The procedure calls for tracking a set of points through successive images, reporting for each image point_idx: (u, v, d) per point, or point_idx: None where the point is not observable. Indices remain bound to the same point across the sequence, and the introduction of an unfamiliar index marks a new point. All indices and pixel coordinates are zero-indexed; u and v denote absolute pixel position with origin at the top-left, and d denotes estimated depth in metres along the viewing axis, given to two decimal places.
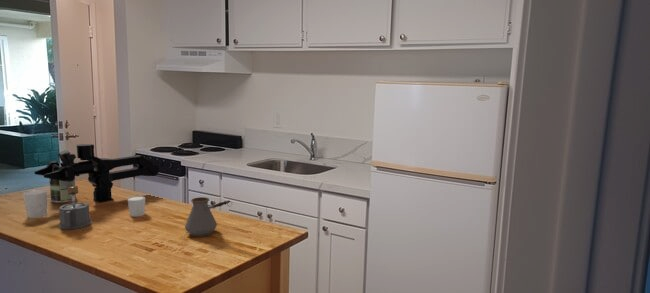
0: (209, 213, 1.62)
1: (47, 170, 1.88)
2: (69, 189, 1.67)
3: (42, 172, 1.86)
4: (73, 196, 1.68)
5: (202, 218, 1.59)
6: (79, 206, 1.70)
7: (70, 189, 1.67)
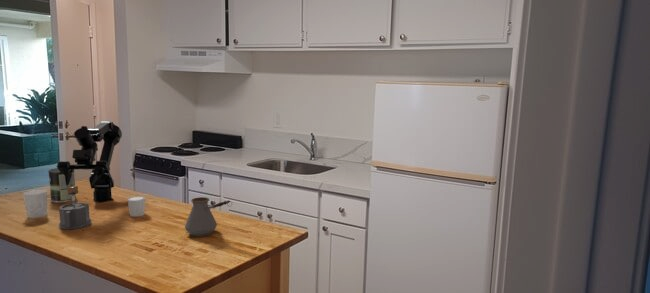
0: (209, 213, 1.62)
1: (68, 174, 1.78)
2: (69, 189, 1.67)
3: (68, 179, 1.77)
4: (73, 196, 1.68)
5: (202, 218, 1.59)
6: (79, 206, 1.70)
7: (70, 189, 1.67)
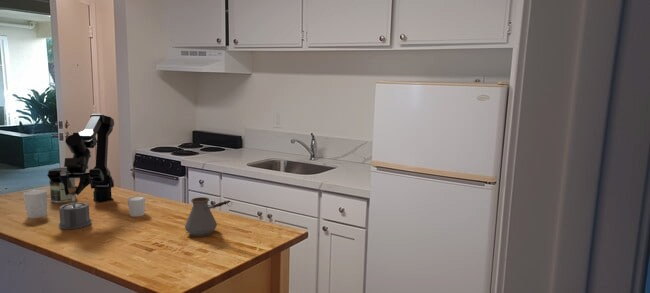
0: (209, 213, 1.62)
1: (67, 183, 1.69)
2: (69, 189, 1.67)
3: None
4: (73, 196, 1.68)
5: (202, 218, 1.59)
6: (79, 206, 1.70)
7: (70, 189, 1.67)
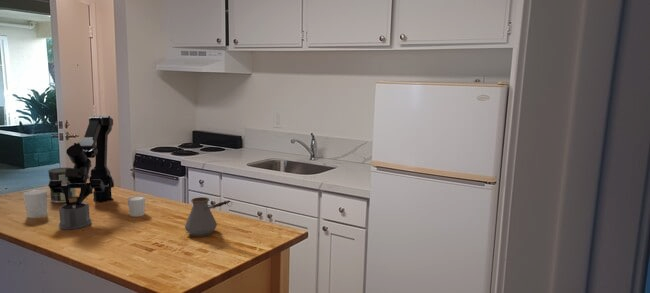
0: (209, 213, 1.62)
1: (68, 193, 1.70)
2: (70, 199, 1.67)
3: None
4: (74, 206, 1.69)
5: (202, 218, 1.59)
6: None
7: (71, 199, 1.67)
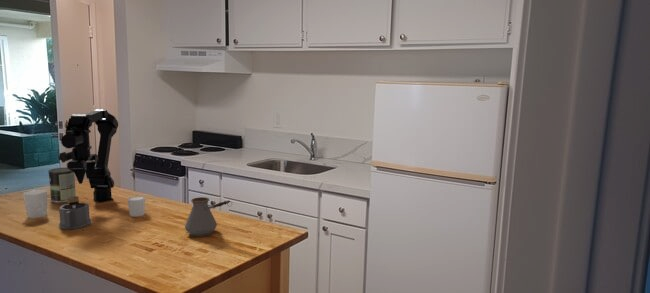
0: (209, 213, 1.62)
1: (87, 167, 1.90)
2: (70, 199, 1.67)
3: (89, 172, 1.90)
4: (74, 206, 1.69)
5: (202, 218, 1.59)
6: None
7: (71, 199, 1.67)
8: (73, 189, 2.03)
